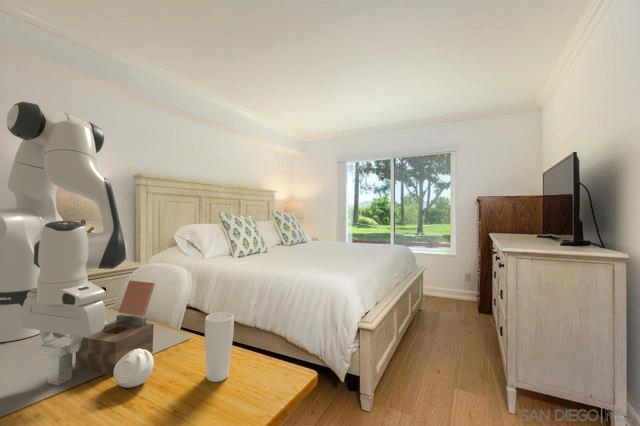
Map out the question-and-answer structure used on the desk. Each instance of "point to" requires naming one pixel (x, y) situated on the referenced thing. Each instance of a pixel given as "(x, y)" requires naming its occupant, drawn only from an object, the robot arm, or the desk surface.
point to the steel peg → (58, 360)
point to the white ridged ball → (133, 368)
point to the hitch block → (114, 343)
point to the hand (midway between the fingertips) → (61, 350)
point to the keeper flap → (136, 298)
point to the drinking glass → (218, 345)
